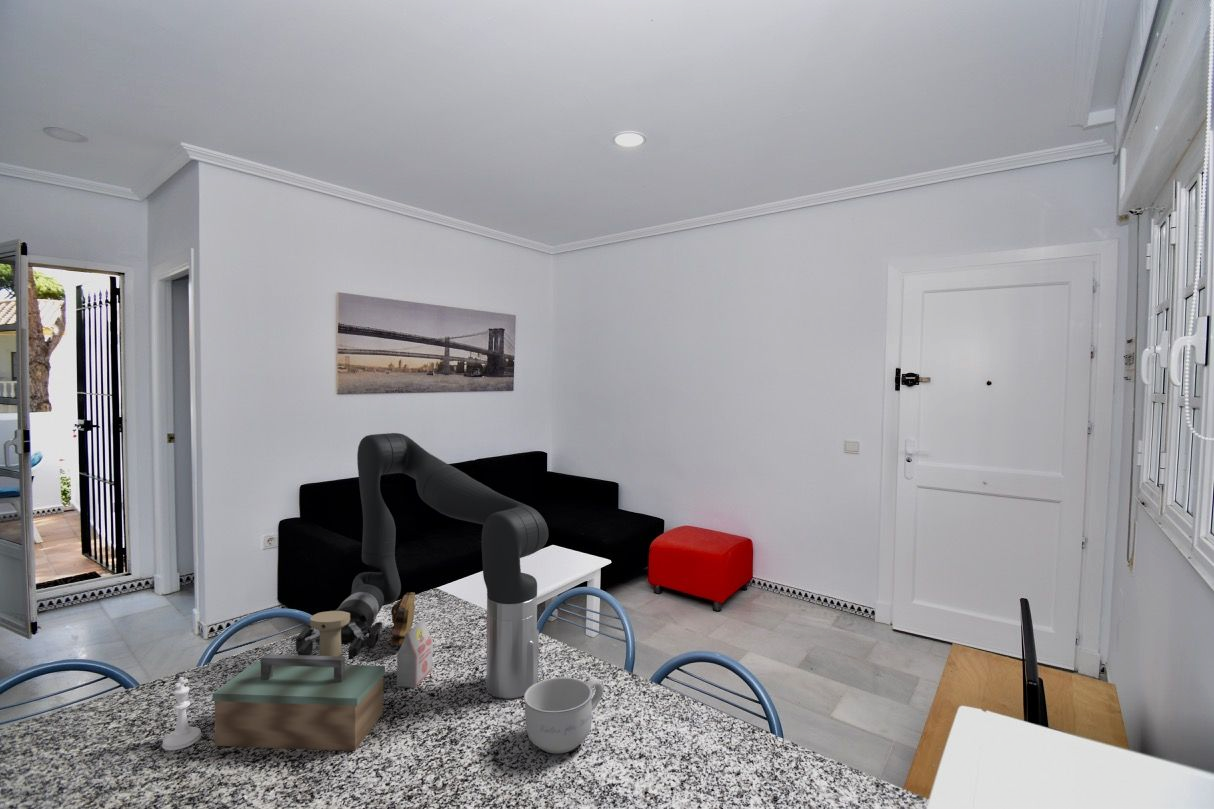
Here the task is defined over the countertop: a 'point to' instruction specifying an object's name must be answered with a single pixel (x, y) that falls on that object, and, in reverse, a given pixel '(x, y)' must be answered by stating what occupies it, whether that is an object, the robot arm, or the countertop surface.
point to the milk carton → (414, 656)
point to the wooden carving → (402, 618)
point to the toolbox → (299, 704)
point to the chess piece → (181, 722)
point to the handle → (330, 631)
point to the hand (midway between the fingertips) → (326, 655)
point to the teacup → (560, 712)
